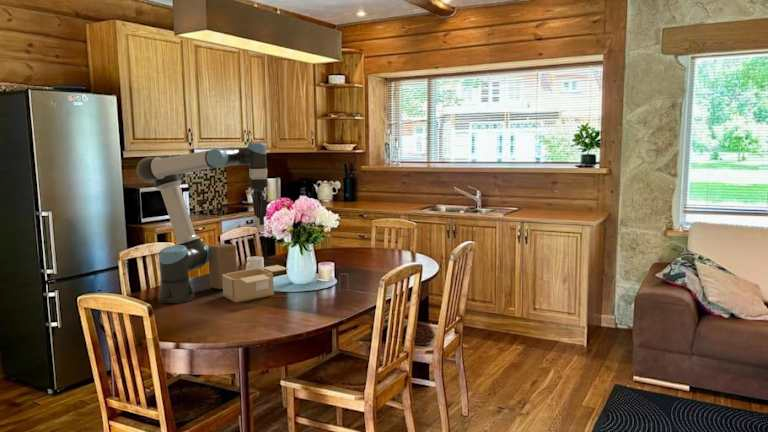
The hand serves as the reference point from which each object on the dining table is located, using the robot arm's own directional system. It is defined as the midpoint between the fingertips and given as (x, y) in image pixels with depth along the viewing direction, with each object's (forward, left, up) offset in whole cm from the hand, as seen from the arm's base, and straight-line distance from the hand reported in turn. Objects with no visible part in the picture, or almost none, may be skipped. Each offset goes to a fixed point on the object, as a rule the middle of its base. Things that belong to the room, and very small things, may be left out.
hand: (261, 231), depth 256 cm
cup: (+11, +35, -29) cm, 47 cm away
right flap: (+9, +6, -19) cm, 21 cm away
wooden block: (-8, +26, -29) cm, 40 cm away
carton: (-5, +6, -29) cm, 30 cm away
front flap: (-6, -5, -19) cm, 21 cm away
